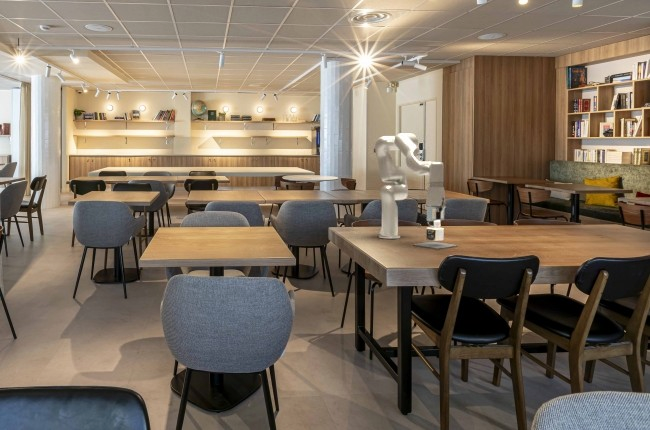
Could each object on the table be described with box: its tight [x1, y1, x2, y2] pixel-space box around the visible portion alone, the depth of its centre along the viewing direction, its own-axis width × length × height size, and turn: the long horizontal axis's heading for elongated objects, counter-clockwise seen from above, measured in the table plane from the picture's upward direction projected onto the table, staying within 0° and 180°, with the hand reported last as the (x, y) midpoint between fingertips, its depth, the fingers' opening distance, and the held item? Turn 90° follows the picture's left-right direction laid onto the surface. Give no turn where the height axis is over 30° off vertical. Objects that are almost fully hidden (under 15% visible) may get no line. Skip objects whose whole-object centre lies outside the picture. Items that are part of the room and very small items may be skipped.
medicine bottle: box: [425, 220, 445, 242], centre depth 365 cm, size 7×7×12 cm
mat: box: [412, 241, 458, 250], centre depth 345 cm, size 18×16×1 cm
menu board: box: [426, 206, 445, 222], centre depth 343 cm, size 3×11×8 cm, turn 129°
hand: (435, 218), depth 343 cm, fingers closed on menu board, 3 cm apart
